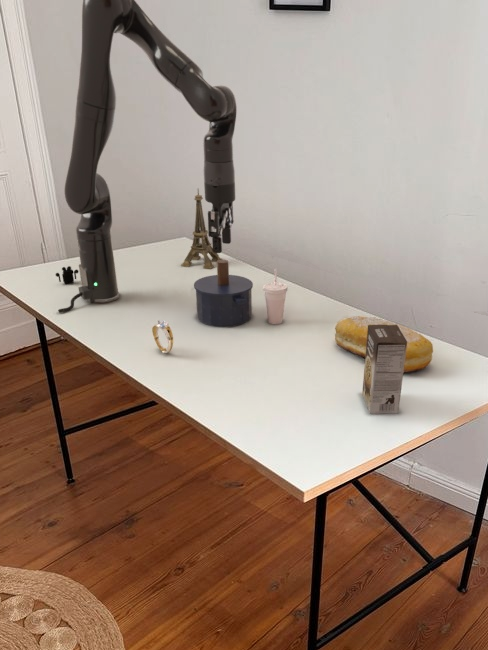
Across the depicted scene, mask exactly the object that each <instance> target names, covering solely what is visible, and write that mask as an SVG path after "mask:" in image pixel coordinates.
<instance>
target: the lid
mask: <svg viewBox="0 0 488 650" xmlns="http://www.w3.org/2000/svg"><path fill="white" fill-rule="evenodd" d="M229 267H230V266H229V260H227V259H222V260H218V261H217V262H216V274H212V275H207V276H204V277H201V278H199V279H197V280H195V281H194V283H193V289H194V290H195V292H196V291H198V292H200V293H202V294H206V295H211V296H234V295H239V294H243V293H246V292H248V291H250V290H251V291H252V289H253V288H254V283H253V282H252V280H251V279H249V278H247V277H244V276H240V275H235V274H230V271H229V270H230V269H229Z"/></svg>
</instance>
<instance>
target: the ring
mask: <svg viewBox="0 0 488 650" xmlns="http://www.w3.org/2000/svg"><path fill="white" fill-rule="evenodd" d="M169 325H170V324H169V322H168V321H165V319H162V321H160V319H159V320H157V323H156V324H154V325H153V326H152V327H151V329H152V331H151V332H152V336H153V339H154V341H155V345H156V347H158V349H159V350H160V351H161V353H162V354H167V353H170V352H172V350H173V347H174V336H173V335H174V334H173V331H172V329H171V327H170V326H169ZM159 329H160V330H162V332H163V333H164V334H165V336H166V339H167V348H166V347H164V346H163V345H162V343H161V341H160V338H159Z"/></svg>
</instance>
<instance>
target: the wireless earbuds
mask: <svg viewBox="0 0 488 650" xmlns="http://www.w3.org/2000/svg"><path fill="white" fill-rule="evenodd" d="M61 271H62V274H60V273H59V272H56V273H55V277H57V278H58V282H59V283H61V282H63V283H64V284H66V285H67V284H73V283H74V280H77V274H79V273H80V270H79V269H74V270H73V269H72V266H70V265H68V266H67V267H66V266H63V267H61ZM61 276H62V280H61Z"/></svg>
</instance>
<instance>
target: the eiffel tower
mask: <svg viewBox="0 0 488 650" xmlns="http://www.w3.org/2000/svg"><path fill="white" fill-rule="evenodd" d="M199 190H200V189H197V194H196V195H195V196H194V198H193V200H194V201H196V202H195V220H194V231H192V235H193V238H192V244H191V246H190V250H189V251H188V253H187V256H185V259H184V260H183V262H182V263H181V264H180V266H181V267H188V268H189V267H190V266H192V265H193V263H192V260H197V261H198V260H200V258H201V255H202V256H203V262H204V265H203V269H207V270H212V269H213V268H214V267H215V265H214V264H213V262H214V263H215V262H216V263H217V261H218V260H223V258H222V257H220V255H219V253H214V252H213V246H212V243H210V241H209V235H208V229H207V228H206V224H205V217H204V211H203V206H202V200H203V199H204V197H203V195H200V191H199ZM200 240H201V241H200ZM200 254H201V255H200ZM208 254H209V256H210V257H211V259H210V257H209V256H208Z"/></svg>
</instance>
